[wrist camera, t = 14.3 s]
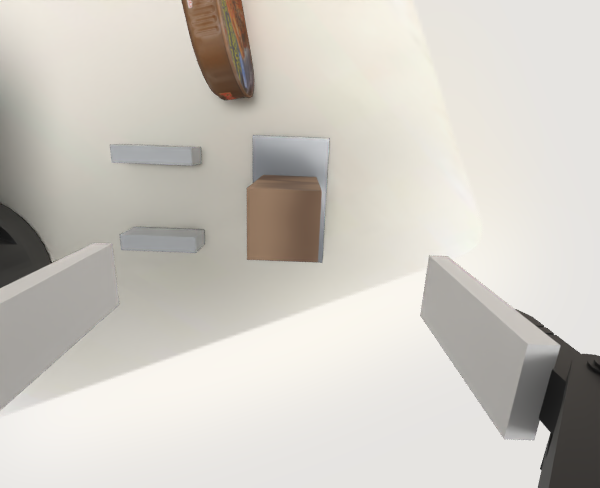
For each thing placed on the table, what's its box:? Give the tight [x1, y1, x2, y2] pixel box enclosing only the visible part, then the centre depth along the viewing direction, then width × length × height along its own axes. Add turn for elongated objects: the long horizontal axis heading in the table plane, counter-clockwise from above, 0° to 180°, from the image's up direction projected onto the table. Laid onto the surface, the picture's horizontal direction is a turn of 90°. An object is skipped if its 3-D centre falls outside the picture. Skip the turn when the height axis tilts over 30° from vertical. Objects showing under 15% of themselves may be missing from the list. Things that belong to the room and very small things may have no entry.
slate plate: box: [253, 135, 330, 263], centre depth 34 cm, size 7×12×1 cm, turn 178°
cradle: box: [110, 144, 205, 253], centre depth 33 cm, size 7×10×3 cm
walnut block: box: [247, 175, 322, 262], centre depth 29 cm, size 5×5×10 cm
